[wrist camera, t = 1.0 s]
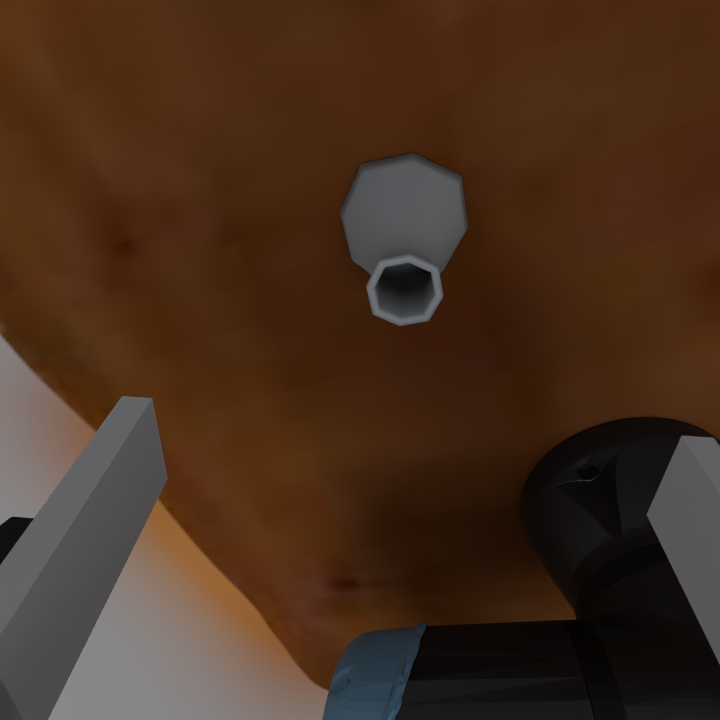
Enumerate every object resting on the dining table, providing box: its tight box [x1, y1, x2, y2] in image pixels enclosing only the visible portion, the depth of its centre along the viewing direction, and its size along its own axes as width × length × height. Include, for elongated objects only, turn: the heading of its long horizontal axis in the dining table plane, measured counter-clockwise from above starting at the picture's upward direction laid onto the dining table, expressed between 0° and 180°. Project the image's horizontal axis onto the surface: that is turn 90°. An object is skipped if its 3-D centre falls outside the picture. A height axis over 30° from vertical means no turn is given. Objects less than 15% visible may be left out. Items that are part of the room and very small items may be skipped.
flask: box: [340, 152, 468, 326], centre depth 27 cm, size 7×7×10 cm
